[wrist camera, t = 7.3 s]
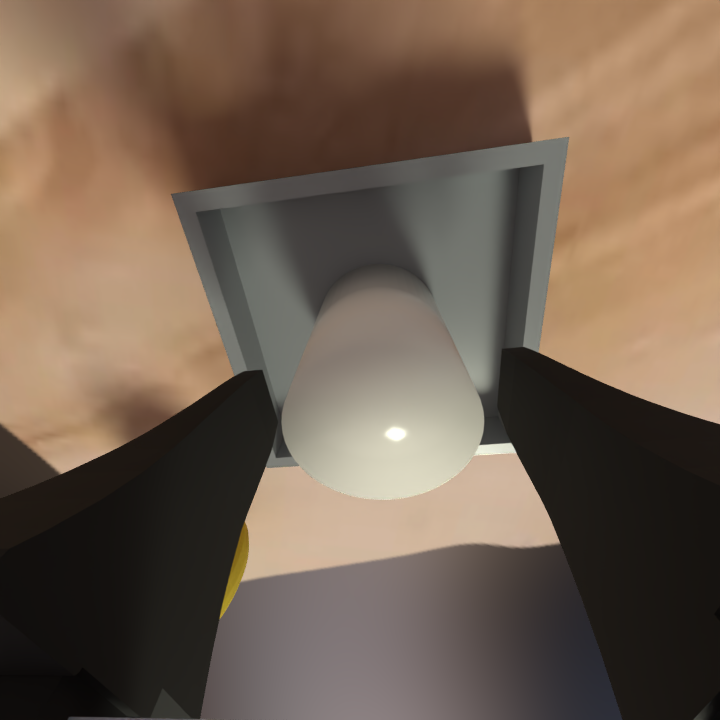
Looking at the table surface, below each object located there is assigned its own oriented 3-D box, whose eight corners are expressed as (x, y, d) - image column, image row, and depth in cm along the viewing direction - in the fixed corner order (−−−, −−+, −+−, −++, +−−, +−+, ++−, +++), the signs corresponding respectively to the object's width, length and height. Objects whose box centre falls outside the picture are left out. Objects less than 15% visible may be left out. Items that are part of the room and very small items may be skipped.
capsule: (433, 254, 13) (485, 327, 7) (440, 365, 15) (483, 491, 9) (307, 274, 14) (254, 358, 8) (333, 378, 16) (308, 506, 10)
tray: (533, 143, 12) (569, 137, 10) (505, 417, 17) (524, 452, 15) (205, 190, 13) (171, 194, 11) (279, 433, 19) (266, 467, 16)
